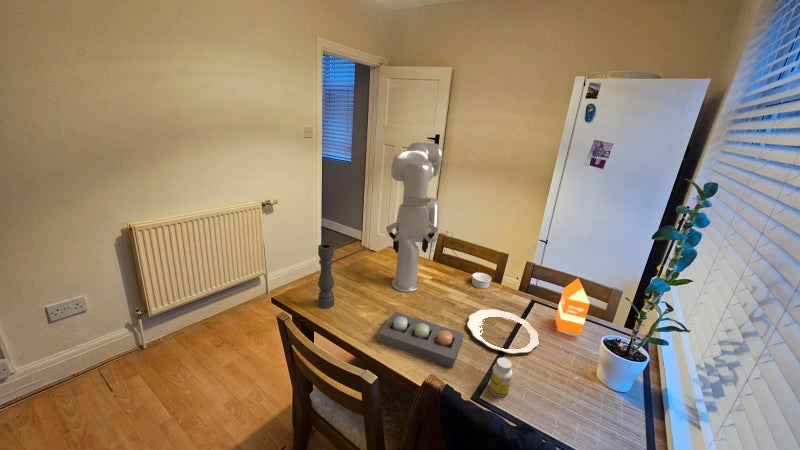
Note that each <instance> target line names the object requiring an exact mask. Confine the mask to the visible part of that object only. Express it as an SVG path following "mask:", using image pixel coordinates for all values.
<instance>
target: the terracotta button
mask: <svg viewBox="0 0 800 450" xmlns="http://www.w3.org/2000/svg"><path fill="white" fill-rule="evenodd" d="M452 337H453V335H452V333H450V332H449V331H446V330H441V331H439V332H438V337H437V343H438V345H441V346H444V347H450V346H451V344H452Z"/></svg>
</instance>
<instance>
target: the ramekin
mask: <svg viewBox="0 0 800 450" xmlns="http://www.w3.org/2000/svg"><path fill="white" fill-rule="evenodd" d="M471 278H472V280H471V283H472V285H473V287H476V288H478V289H482V288H483V289H484V288H485V289H487V288H489V287H490V285H491V282H492V276H490V275H489V274H488V273H487V274H486V273H484V272H474V273H472V275H471Z"/></svg>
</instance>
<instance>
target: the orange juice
mask: <svg viewBox="0 0 800 450" xmlns="http://www.w3.org/2000/svg"><path fill="white" fill-rule="evenodd" d="M590 303H591V302H590V301H589V298H588V296H587V293H586V290H585V289H584V287H583V285H582V283H581V280H580V279H579V278H576V279H575V280H573V281H572V282H571V283H569V284H568V285H567V286H565V287H563V289H562V293H561V297H560V301H559V303H558V306H557V307H558V308H557V311H556V315H555V318H556V322H557V327H558V330H559V331H564V332H569V333H572V334H576V335H580V336H581V334H582V331H583V327H584V325H585V321H586V318H587V314H588V312H589V308H590ZM556 322H555V323H556Z"/></svg>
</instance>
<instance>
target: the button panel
mask: <svg viewBox="0 0 800 450" xmlns="http://www.w3.org/2000/svg"><path fill="white" fill-rule="evenodd" d="M396 317H404V318H406V319H407V330H406V331H405V332H399V331H396V330H394V329H393V323H394V318H396ZM419 323H424V324H426V325H428V326H429V336H428V338H427V339H424V340H423V339H420V338H417V337H415V326H416V325H417V324H419ZM441 330H446V331H449V332H450V333H452V335H453V337H452V344H451V346H450V347H444V346H441V345H438V343H437V337H438V332H439V331H441ZM377 335H378V336H377V342H378V343H380V344H384V345H386V346H389V347H391V348H394V349H397V350H400V351H403V352H406V353H408V354H411V355H415V356H417V357H420V358H422V359H425V360H428V361H432V362H434V363H437V364H440V365H443V366H445V367H449V368H451V369H453V368H454V366H455V363H456V360H457V357H458V354H459V352H460V350H461V347H462V344H463V340H464V335H465V334H464V332H462V331H459V330H456V329H452V328H449V327H447V326H441V325H440V324H437V323H433V322H429V321H427V320H423V319H419V318H416V317H413V316H412V315H411V316H410V315H407V314H404V313H400V312H397V311H394V313H393V314H392V315H391V316H390V317H389V319H388V320H387V322H386V323H385V324H384V325H383V326H382V328H381V329H380V330H379V331H378V334H377Z"/></svg>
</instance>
